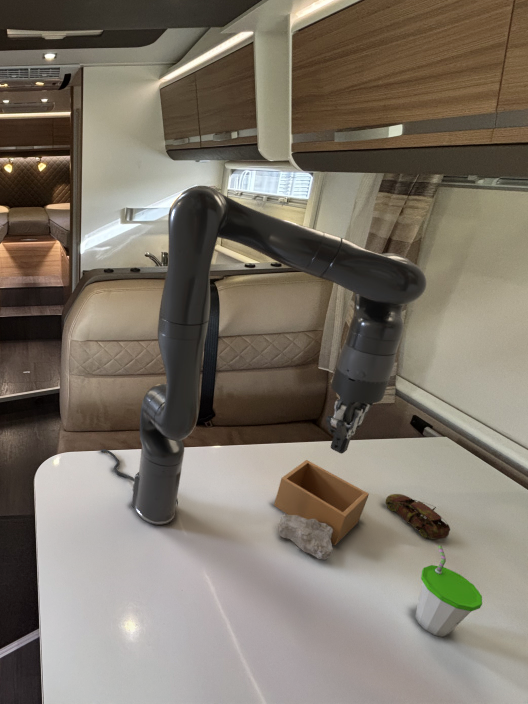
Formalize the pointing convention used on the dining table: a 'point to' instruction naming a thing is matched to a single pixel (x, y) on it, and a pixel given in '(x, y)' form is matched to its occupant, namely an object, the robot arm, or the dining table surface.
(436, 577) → the cup
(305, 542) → the stone
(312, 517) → the box
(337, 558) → the dining table surface
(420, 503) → the toy car
